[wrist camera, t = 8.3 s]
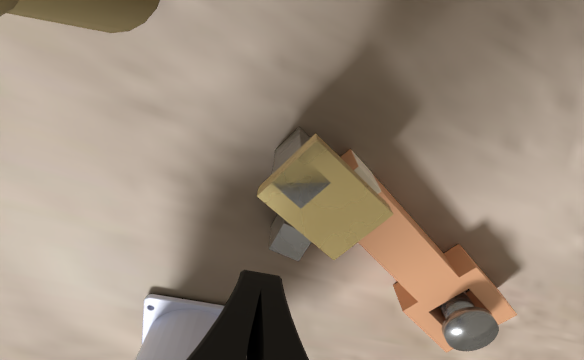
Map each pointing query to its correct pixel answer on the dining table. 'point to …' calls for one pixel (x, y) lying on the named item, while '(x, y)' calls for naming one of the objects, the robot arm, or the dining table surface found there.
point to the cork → (85, 12)
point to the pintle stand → (345, 222)
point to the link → (425, 266)
